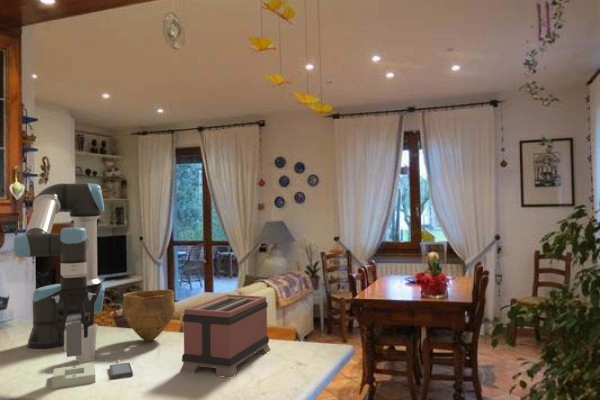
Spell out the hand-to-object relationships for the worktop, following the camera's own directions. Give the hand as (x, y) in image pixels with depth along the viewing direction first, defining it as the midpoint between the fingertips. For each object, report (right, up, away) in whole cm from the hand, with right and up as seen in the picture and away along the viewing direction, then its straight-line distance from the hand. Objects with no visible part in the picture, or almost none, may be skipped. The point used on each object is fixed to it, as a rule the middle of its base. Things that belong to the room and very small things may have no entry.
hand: (74, 349), depth 155 cm
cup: (-5, -10, +20) cm, 23 cm away
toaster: (+47, -10, +19) cm, 52 cm away
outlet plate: (0, -10, 0) cm, 10 cm away
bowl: (+11, -10, +43) cm, 45 cm away
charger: (0, -2, 0) cm, 2 cm away
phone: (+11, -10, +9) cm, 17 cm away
